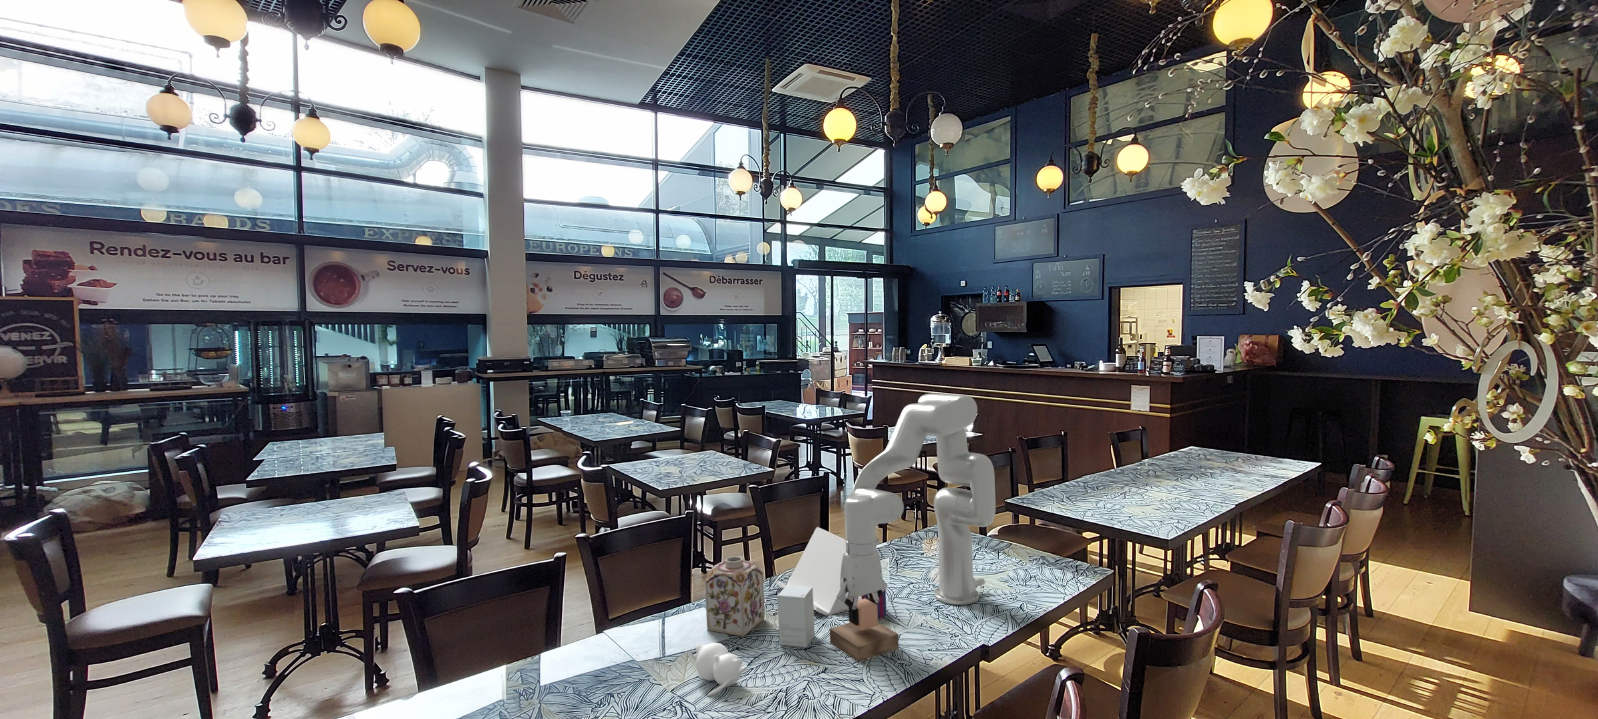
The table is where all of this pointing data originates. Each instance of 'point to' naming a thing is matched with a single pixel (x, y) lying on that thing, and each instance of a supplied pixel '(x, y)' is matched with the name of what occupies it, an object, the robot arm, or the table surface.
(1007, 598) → the table surface
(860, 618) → the terracotta cube
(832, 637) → the walnut block
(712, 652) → the cat figurine
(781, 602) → the supplement box
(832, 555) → the tablet stand
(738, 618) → the decorative jar
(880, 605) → the mug
